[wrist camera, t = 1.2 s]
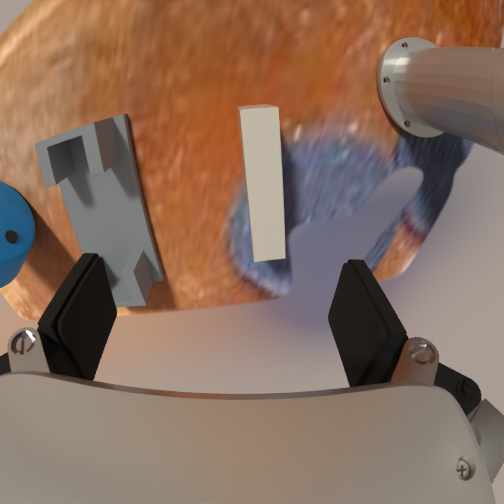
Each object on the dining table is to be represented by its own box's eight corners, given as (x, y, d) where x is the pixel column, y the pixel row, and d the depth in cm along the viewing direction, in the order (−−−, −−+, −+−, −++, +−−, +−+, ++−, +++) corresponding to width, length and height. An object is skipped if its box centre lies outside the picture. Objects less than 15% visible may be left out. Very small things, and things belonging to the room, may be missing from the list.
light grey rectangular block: (267, 104, 26) (278, 106, 20) (275, 226, 34) (285, 258, 28) (237, 106, 26) (239, 109, 20) (249, 228, 34) (254, 261, 28)
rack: (126, 113, 25) (106, 118, 20) (164, 276, 36) (156, 304, 31) (52, 137, 25) (26, 147, 20) (98, 282, 36) (85, 308, 31)
